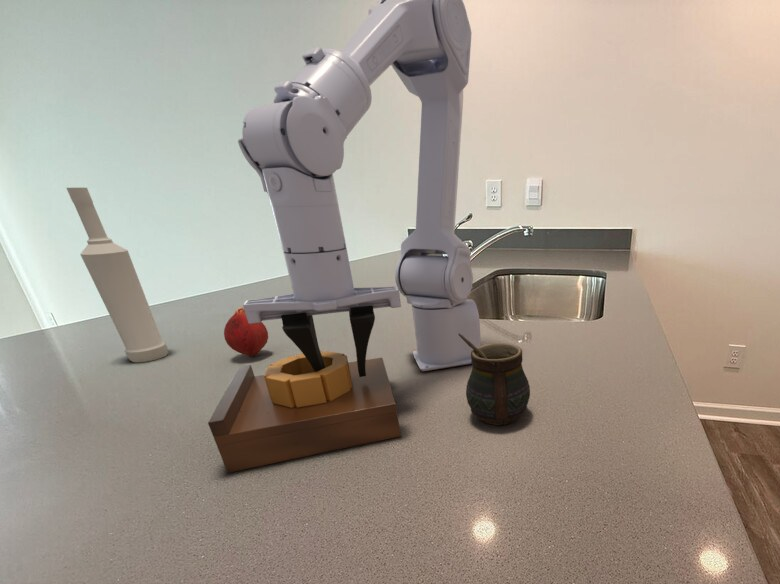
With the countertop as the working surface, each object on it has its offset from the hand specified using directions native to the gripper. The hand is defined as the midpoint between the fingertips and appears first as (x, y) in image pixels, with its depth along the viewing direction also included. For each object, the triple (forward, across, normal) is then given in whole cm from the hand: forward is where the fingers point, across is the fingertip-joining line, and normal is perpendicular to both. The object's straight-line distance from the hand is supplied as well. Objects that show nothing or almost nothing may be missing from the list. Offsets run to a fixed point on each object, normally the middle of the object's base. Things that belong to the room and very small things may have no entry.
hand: (343, 376), depth 46 cm
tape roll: (+1, -3, 0) cm, 3 cm away
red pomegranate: (+5, -14, +27) cm, 31 cm away
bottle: (+5, -30, +34) cm, 46 cm away
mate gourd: (+5, +16, -7) cm, 18 cm away
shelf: (+5, -3, 0) cm, 6 cm away
